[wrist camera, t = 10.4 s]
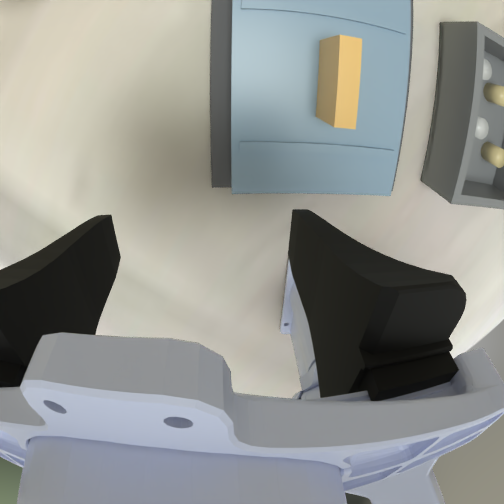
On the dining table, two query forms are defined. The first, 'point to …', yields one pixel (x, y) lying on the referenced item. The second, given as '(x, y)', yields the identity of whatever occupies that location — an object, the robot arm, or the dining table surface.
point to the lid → (318, 95)
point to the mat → (222, 91)
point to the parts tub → (468, 118)
